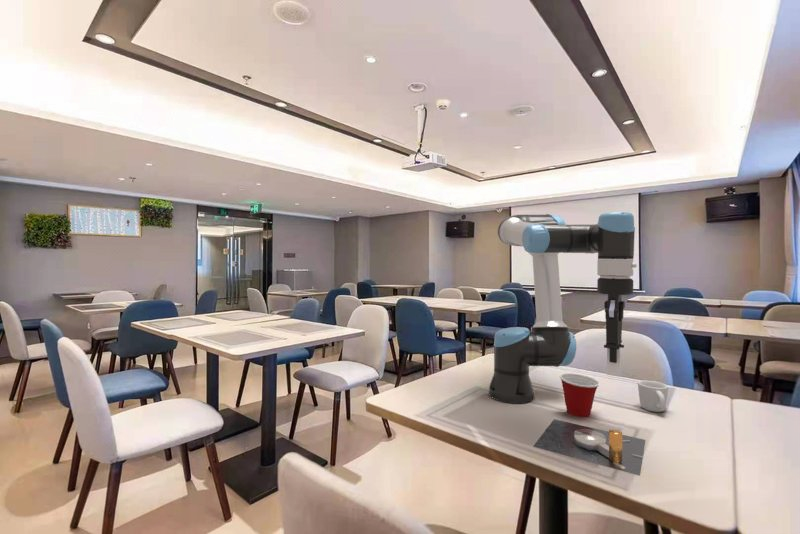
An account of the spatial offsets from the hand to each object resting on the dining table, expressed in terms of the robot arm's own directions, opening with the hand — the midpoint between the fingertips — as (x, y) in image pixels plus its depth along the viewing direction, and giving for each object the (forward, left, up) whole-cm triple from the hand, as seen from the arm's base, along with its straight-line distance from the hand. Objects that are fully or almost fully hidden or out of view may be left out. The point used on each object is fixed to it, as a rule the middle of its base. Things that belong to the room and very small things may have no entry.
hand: (613, 374), depth 92 cm
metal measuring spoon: (-3, -4, -17) cm, 18 cm away
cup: (+7, +38, -19) cm, 43 cm away
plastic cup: (-11, +18, -19) cm, 29 cm away
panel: (-5, -1, -19) cm, 20 cm away
